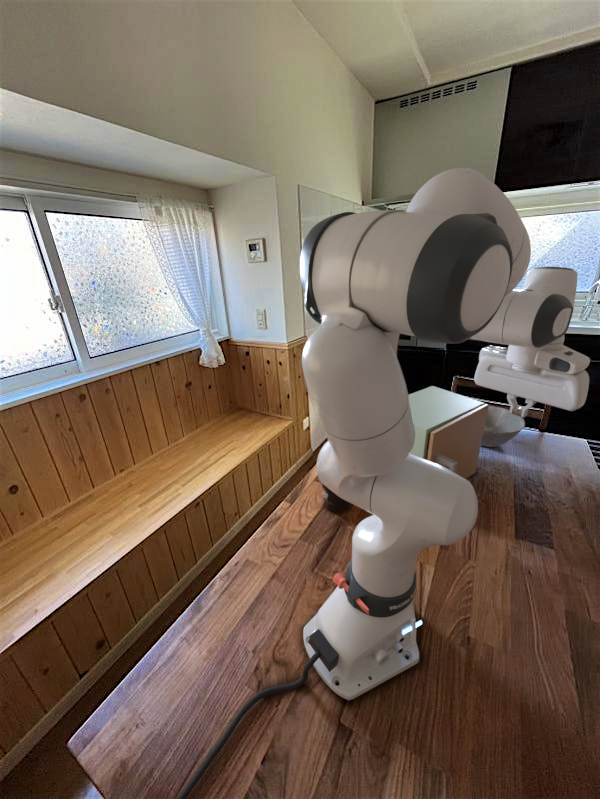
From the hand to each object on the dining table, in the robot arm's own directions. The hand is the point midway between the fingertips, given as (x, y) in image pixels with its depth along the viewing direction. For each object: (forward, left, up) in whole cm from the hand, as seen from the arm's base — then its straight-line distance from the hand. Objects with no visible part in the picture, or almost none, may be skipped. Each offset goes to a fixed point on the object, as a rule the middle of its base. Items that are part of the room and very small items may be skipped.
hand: (517, 414), depth 73 cm
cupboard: (+6, +26, -33) cm, 42 cm away
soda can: (+6, +24, -32) cm, 40 cm away
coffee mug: (-25, +32, -33) cm, 53 cm away
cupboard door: (+6, +13, -33) cm, 36 cm away
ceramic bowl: (+40, +25, -33) cm, 58 cm away
